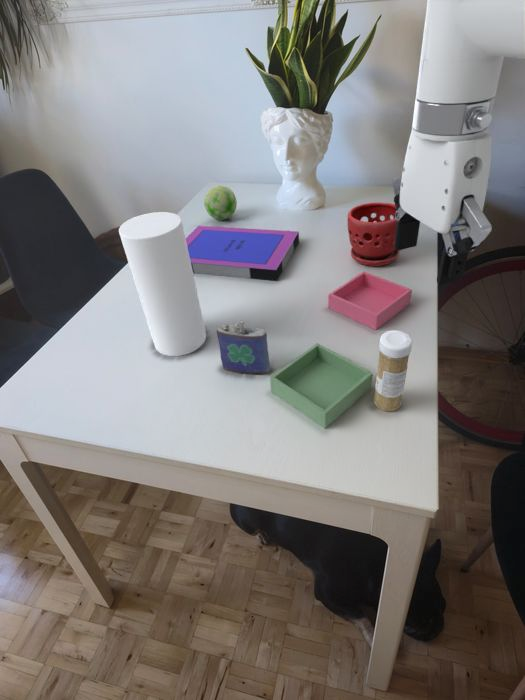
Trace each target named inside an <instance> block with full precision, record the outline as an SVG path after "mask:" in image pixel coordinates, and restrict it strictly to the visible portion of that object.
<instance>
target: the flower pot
mask: <svg viewBox="0 0 525 700" xmlns="http://www.w3.org/2000/svg"><path fill="white" fill-rule="evenodd" d="M396 211H397V209H396V206H395V203H390V202H379V201H378V202H376V201H375V202H367V203H362V204H359V205H356V206H354V207H352V208H351V209H350V210H349V211H348V212H347V233H348V237H349V238H348V239H349V243H350V246H351V250H350V256H351V258H352V259H353V260H354V261H355V262H357V263H358V264H361V265H365V266H369V267H378V266H384V265H387V264H390V263H392V262H394V261H395V260H396V259H397V258H398V256H399V254H400V250H398V251H397V250H396V249H394V242H395V234H396V225H397V222H399V221H397V220H396V218H395V213H396ZM372 214H375V216H374V217H373V216H372ZM365 217H366V218H367V221H364V220H362V219H363V218H365ZM381 217H384V219H383V220H382V219H381ZM391 217H392V219H391Z"/></svg>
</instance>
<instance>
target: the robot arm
mask: <svg viewBox="0 0 525 700" xmlns="http://www.w3.org/2000/svg"><path fill="white" fill-rule="evenodd" d="M426 2H427V3H426V9H425V18H424V27H423V35H422V42H421V52H420V59H419V66H418V67H419V69H418V75H417V84H416V94H415V99H414V100H415V101H414V109H413V116H412V125H411V131H410V135H409V139H408V143H407V147H406V152H405V156H404V162H403V168H402V171H401V173H402V174H401V175H400V176H398V177H396V178H393V180H392V186H393V194H394V197H393V202H394V203H393V204H395V206H396V209H397V211H396V213H395V218H396V220H397V221H399V222H397V225H396V234H395V242H394V249H396V250H397V251H398V250H399V251H402V250H407V249H410V248H414V247H417V245H418V239H419V232H420V227H421V223H422V224H423V225H425V226H426V227H428V228H430V229H432V230H433V231H435V232H437V233H439V234H441V236H442V240H443V242H444V247H445V250H446V252H442V254H441V257H440V262H439V266H438V272H437V277H436V283H437V284H439V285H440V286H443V285H447V284H450V283H453V282H457V281H460V280H462V279H463V277H464V274H465V269H466V265H467V261H468V256H469V253H471V252H473V251H474V250H475V249H477V248H479V247H480V246H482V245H483V241H484V240H485V239H486V238H487V237H488V236H489V235H490V233H491V232H492V228H493V226H492V224H491V222H490V221H489V219H488V217H487V216H486V215H485V213H484V207H485V201H486V196H487V191H488V184H489V178H490V171H491V161H492V160H491V159H492V135H491V134H489V133H488V130H489V127H490V126H491V123H492V122H493V115H492V112H493V108H494V104H495V99H496V95H497V90H498V85H499V81H500V76H501V72H502V68H503V63H504V59H505V58H511V59H518V60H525V0H427V1H426ZM456 222H457V224H456V225H454V224H455V223H456ZM456 233H459V237H460V240H459V241H457V242H456V239H455V235H454V234H456Z"/></svg>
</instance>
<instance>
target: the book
mask: <svg viewBox="0 0 525 700" xmlns="http://www.w3.org/2000/svg"><path fill="white" fill-rule="evenodd" d="M185 238H186V242H187V247H188V252H189V256H190V261H191V266H192V271H193V274H197V275H207V276H208V275H209V276H219V277H229V278H240V279H241V278H242V279H250V280H261V281H262V280H263V281H273V282H278V280H279V278H280V276H281V275H282V273H283V271H284V269H285V268H286V266H287V264H288V262H289V261H290V259H291V257H292V255H293V254H294V252H295V250H296V249H297V247H298V245H299V243H300V231H297V230H282V229H281V230H279V229H263V228H244V227H231V226H230V227H228V226H214V225H213V226H211V225H197V226H196V228H194V229H193V231H191V232H190V233H189V234H188V235H187V236H186V237H185Z"/></svg>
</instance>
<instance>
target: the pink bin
mask: <svg viewBox="0 0 525 700" xmlns="http://www.w3.org/2000/svg"><path fill="white" fill-rule="evenodd" d="M412 293H413V289H411V288H409V287H406V286H403V285H401V284H398V283H396V282H393V281H390V280H388V279H386V278H383V277H380V276H377V275H374V274H372V273H369V272H367V271H362V272H361V273H359V274H357V275H356V276H355V277H353V278H351V279H350V280H348V281H347V282H345V283H343V284H342V285H341V286H338V287H337V288H336V289H334V290H333V291H331V292H330V293H328V301H327V303H328V305H327V307H328V309H330V310H332V311H334V312H336V313H338V314H339V315H343V316H345V317H347V318H349V319H351V320H353V321H355V322H358V323H360V324H362V325H364V326H366V327H368V328H370V329H372V330H375V331H376V330H377V329H379V328H380V327H381V326H383V325H384V324H385V323H387V322H388V321H389V320H390V319H392V318H393V317H395V316H396V315H397V314H398V313H399V312H401V311H402V310H403V309H405V308H406V307H407V306H409V305H410V304H411V298H412Z"/></svg>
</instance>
